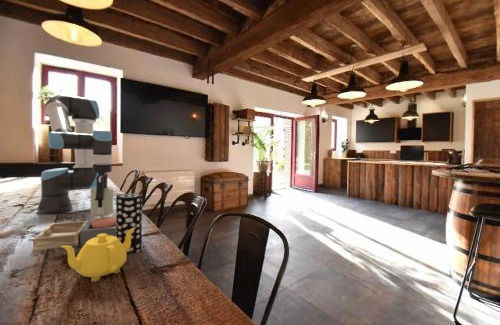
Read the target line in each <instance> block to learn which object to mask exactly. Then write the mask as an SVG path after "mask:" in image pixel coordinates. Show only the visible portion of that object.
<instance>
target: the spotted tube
mask: <svg viewBox="0 0 500 325" xmlns="http://www.w3.org/2000/svg"><path fill="white" fill-rule="evenodd" d="M115 199H116V200H115V203H116V204H115V206H116V208H115V212H116V213H115V218H116V237H117V238H118V239H119V240H120V242H121V243H122V244H123V243H124V241H125V238H126V234H127V232H128V231H129V230H130V229H132V228H134V227H136V228H135V229H134V230H133V232H132V234H131V246H130V249H129V250H128V252H127V253H126V254H127V255H132V254H135V253H138V252H140V251H141V250H142V248H143V247H142V246H143V245H142V244H143V242H142V241H143V240H142V239H143V238H142V237H143V194H142V193H137V192H134V193H133V192H129V193H122V194H121V193H120V194H117V195H116V198H115Z"/></svg>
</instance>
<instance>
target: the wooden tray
mask: <svg viewBox="0 0 500 325" xmlns="http://www.w3.org/2000/svg"><path fill="white" fill-rule="evenodd" d="M87 221H88V220H82V221H81V220H80V221H68V222H57V223H56V222H55V223H54V222H53V223H50V224H49V225H47V227H45V229H43V230H42V231H41V232H40V233H38V234H37V235H36V236H35V237H34V238H33V239H32V251H39V250H40V251H41V250H48V249H59V248H62V247H61V246H72V247H77V246H79V245H80V231H81V230H82V228H83V227H84V225H85V224H86V223H87Z"/></svg>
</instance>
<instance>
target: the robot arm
mask: <svg viewBox="0 0 500 325" xmlns="http://www.w3.org/2000/svg"><path fill="white" fill-rule="evenodd" d="M44 111H45V113H46V115H47V116H48V118H49V123H50V129H51V131H49V132H48V134H47V143H48V144H47V145H48V147H49V148H50V149H53V150H54V149H55V150H57V149H58V150H75V164H74V165H73V166H72V170H71V169H69V168H68V167H60V168H59V167H58V168H52V169H50V168H49V169H46V170H43V171H41V175H40V176H41V177H40V181H41V184H40V187H41V190H40V191H41V194H40V201H39V203H38V205H37V209H36V210H37V211H36V213H37V214H41V215H49V214H50V215H51V214H61V213H65V212H69V211H71V210H73V202H72V201H71V198H70V195H69V192H70V191H83V190H91V189H93V188H96V199H95V200H97V214H104V200H103V199H104V188H106V187H108V178H109V177H108V174H107V173H111V172H112V171H113V170H112V167H113V166H112V165H113V164H112V162H113V153H112V152H113V151H112V148H113V133H112V131H111V130H101V129H94V124H95V123H96V122H97V120H99V118H100V107H99V104H98V102H97V100H95V99H93V98H88V97H83V96H76V95H67V94H58V95H55V96H52V97H51V98H49V99H48V100H47V101H46V102H45V104H44ZM69 117H71V121H73V123H74V124H75V126H74V127H75V128H74V129H75V130H74V131H75V132H73V129H72V126H71V123H70V120H69Z"/></svg>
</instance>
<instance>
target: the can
mask: <svg viewBox="0 0 500 325" xmlns="http://www.w3.org/2000/svg"><path fill="white" fill-rule="evenodd" d="M95 199H96V188H93V189H90V216H92V217H93V216H94V217H102V216H103V217H104V216H109V215H111V214H114V187H108V186H107V187H106V188H104V199H103V200H104V214H97V200H95Z"/></svg>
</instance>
